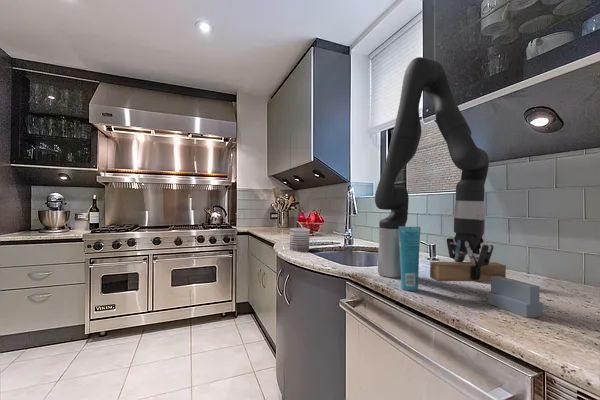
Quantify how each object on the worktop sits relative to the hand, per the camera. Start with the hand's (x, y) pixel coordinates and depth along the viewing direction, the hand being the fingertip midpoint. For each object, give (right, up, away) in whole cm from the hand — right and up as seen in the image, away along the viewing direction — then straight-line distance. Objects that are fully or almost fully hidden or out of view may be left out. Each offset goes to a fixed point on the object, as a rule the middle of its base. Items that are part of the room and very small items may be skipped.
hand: (467, 276), depth 81 cm
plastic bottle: (+15, -7, +20) cm, 25 cm away
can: (-48, -7, +81) cm, 95 cm away
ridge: (+6, -6, -10) cm, 13 cm away
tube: (-14, -6, +7) cm, 17 cm away
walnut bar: (0, -1, 0) cm, 1 cm away
